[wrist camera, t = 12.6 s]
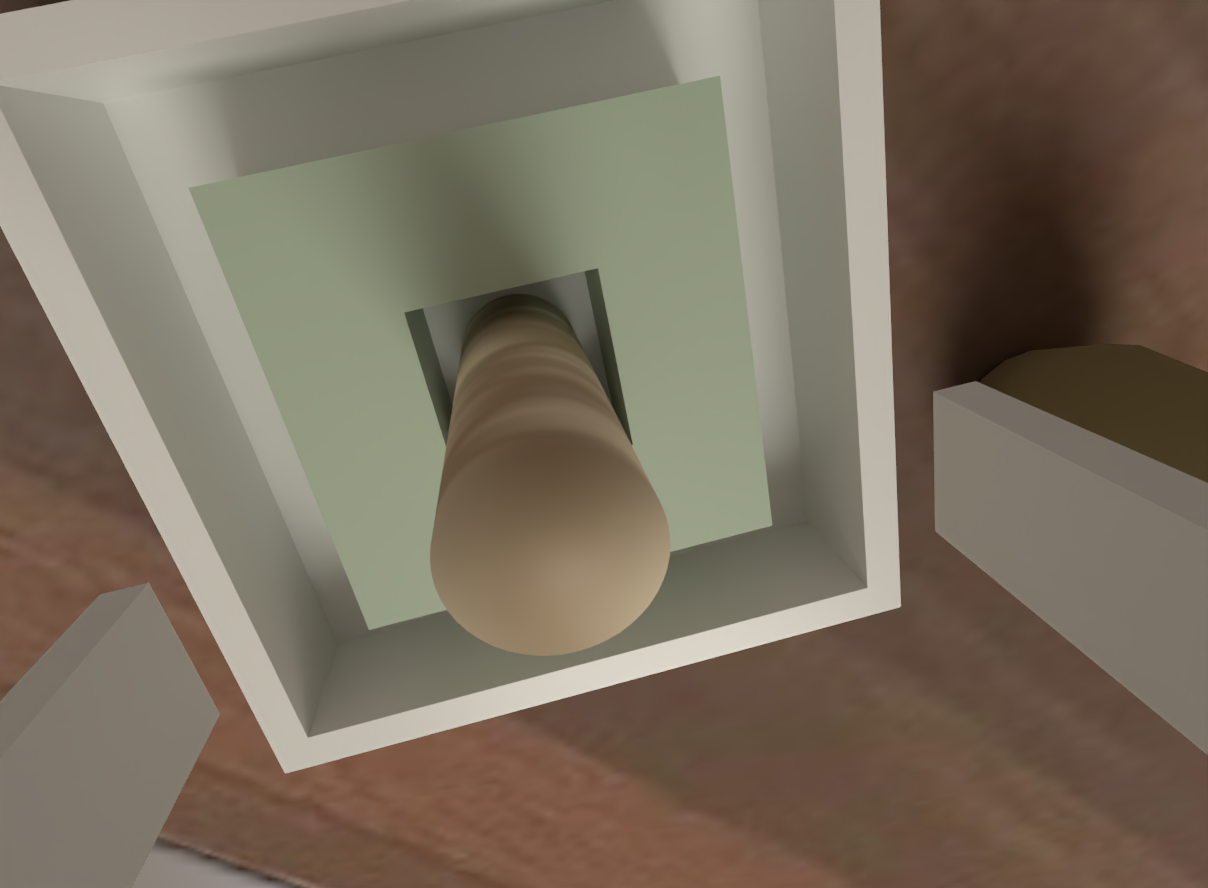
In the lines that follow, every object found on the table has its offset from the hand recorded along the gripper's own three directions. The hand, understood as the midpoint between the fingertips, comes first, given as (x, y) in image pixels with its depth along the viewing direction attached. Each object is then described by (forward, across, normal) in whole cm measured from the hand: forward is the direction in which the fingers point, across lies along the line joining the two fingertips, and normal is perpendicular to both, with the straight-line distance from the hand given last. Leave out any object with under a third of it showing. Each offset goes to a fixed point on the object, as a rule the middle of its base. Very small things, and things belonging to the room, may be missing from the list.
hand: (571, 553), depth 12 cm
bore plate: (+15, 0, 0) cm, 15 cm away
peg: (+14, 0, 0) cm, 14 cm away
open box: (+15, 0, 0) cm, 15 cm away
